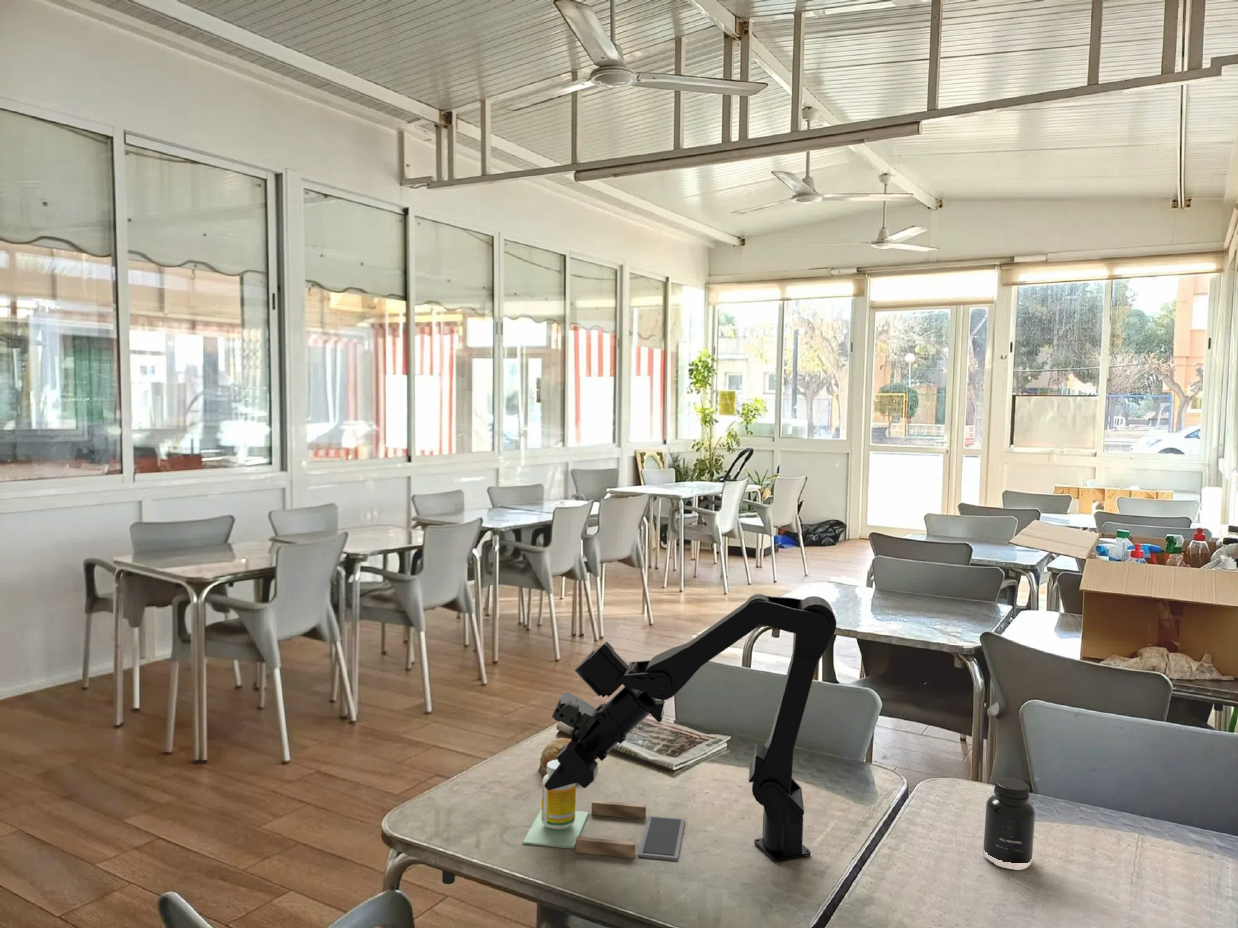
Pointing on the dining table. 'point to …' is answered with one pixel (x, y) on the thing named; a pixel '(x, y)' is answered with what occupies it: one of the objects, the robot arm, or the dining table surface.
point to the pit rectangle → (662, 838)
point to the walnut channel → (608, 845)
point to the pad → (555, 832)
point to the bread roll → (551, 753)
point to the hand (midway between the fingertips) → (550, 780)
